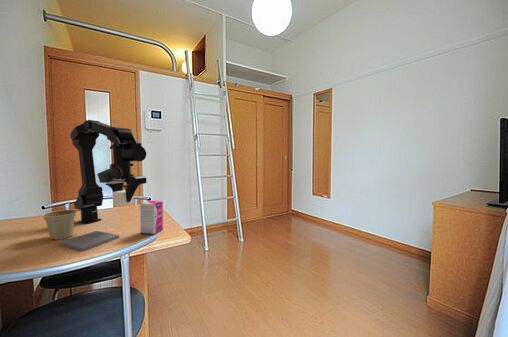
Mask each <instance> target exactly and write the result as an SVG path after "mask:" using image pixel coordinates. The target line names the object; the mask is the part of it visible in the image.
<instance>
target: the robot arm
mask: <svg viewBox="0 0 508 337" xmlns="http://www.w3.org/2000/svg"><path fill="white" fill-rule="evenodd" d="M132 131H133V130H132V129H130V128H128V127H115V126H112V125H109V124H107V123H103V122H101V121H99V120H93V119H87V120H86V119H85V121H84V122H83V123H81V124H79V125H77V126H75V127H74V128H73V129H72V130H71V132H70V139H71V142H72V145H73V147H74V148H76V150H77V151H78V159H79V160H78V161H79V166H80V176H81V186H80V188H79V189H78V194H77V195H78V196H77V198H76V200H75V201H74V203H73V205H74V206H73V207H74V210H80V219H79V220H77V223H79V224H85V225H87V224H91V223H96V222H99V221H101V220H102V218H99V212H98V207H101V206H103V201H104V193H103V187H102V186H101V185H98V184H97V178H98V181H99V183H102V184H105V185H106V186H108V187H109V188H110V189H111V190H112V193H113V192H117V191H123V190H125V191H126V200H127V202H130V201H131V199H132V197H133V195H135V193H136V191H137V189H138V187H139V186H141V185H143V184H147V177H146V176H145V175H135V174H133V173H132V168H131V167H134V163H131V162H142V161H144V160H145V159H146V157H147V151H146V149H145V147H144V146H142V143H141V142H138V140H137V138H136V137H135V135H134V133H133V132H132ZM100 135H103V136H104V137H106V139H107V140H108V141H109V142H110V143H112V144H111V145H110V146H109V149H110V150H112V158H113V160H112V162H113V163H111V164H110V165H109V168H108V169H105V170H102V171H101V172H99V173H97V174H96V169H95V162H94V153H93V149H94V147H95V146H96V144H97V139H98V138H99V137H100ZM96 175H97V178H96Z"/></svg>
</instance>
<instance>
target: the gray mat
mask: <svg viewBox="0 0 508 337" xmlns="http://www.w3.org/2000/svg"><path fill="white" fill-rule="evenodd" d="M119 238H120V235H119V234H116V233H115V234H114V233H109V232H105V231H98V230H93V231H90V232H88V233H84V234H81V235H78V236H75V237H71V238H68V239H65V240H64V239H63V240H62V241H58V246H59V247H60V246H61V247H65V248H70V249H73V250H76V251H80V252H84V251H87V250H90V249H92V248H95V247H98V246H102V245H105V244H106V243H109V242H113V241H115V240H118V239H119Z"/></svg>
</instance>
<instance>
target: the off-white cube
mask: <svg viewBox="0 0 508 337" xmlns="http://www.w3.org/2000/svg"><path fill="white" fill-rule="evenodd" d="M134 195H135V194H134ZM134 195H133V197H132V199H131V201H130V202H127V200H126V191H125V189H123V190H122V191H117V192H113V191H112V205H113V206H114V207H115V206H116V207H117V206H118V207H125V206H130V205H133V204H135V198H134Z"/></svg>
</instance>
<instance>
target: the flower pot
mask: <svg viewBox="0 0 508 337" xmlns="http://www.w3.org/2000/svg"><path fill="white" fill-rule="evenodd" d="M77 212H78V210H77V209H61V210H54V211H53V210H52V211H50V212H46V213H44V214H42V215H41V217H43V219H44V221H45V223H46V228H47V230H48V234H49V239H50V240H57V241H58V240H62V239H63V240H64V239H66V238H68V237H72V236H73V235H74V224H75V218H76V213H77Z"/></svg>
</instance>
